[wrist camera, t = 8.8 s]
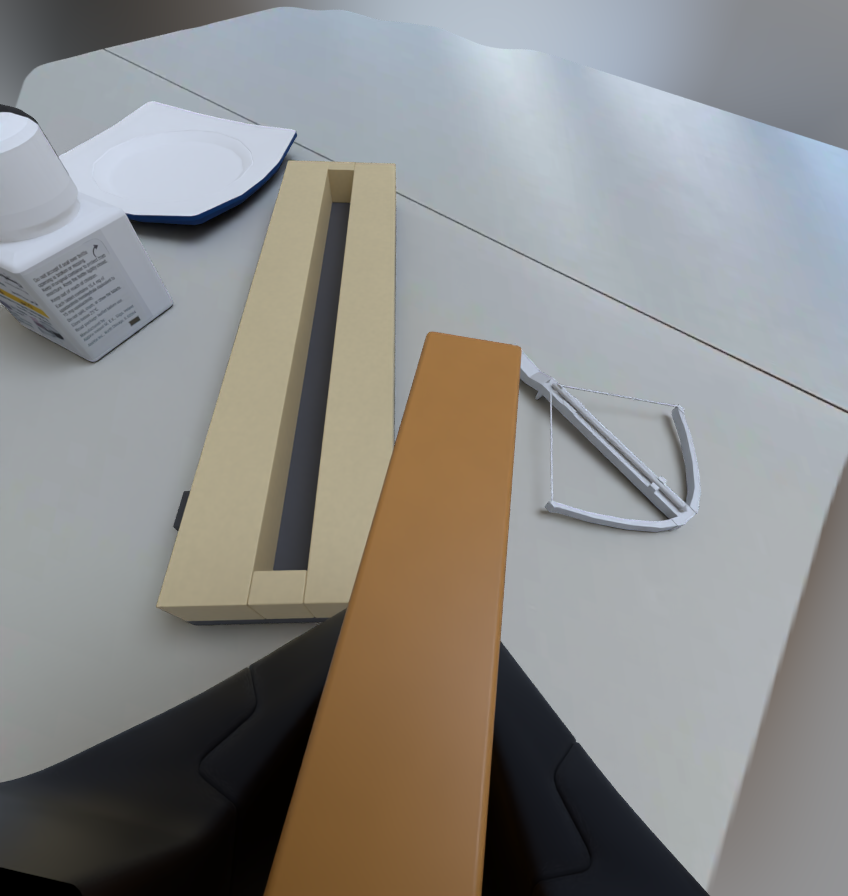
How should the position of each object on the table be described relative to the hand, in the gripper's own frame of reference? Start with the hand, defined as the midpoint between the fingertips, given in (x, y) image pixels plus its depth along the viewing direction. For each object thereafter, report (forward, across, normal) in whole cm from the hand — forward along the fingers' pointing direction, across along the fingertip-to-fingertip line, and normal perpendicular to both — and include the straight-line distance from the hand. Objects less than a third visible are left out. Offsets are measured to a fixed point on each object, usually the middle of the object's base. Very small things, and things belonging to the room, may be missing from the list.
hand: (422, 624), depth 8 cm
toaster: (+25, +11, -5) cm, 28 cm away
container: (+24, +29, -4) cm, 38 cm away
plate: (+39, +33, -19) cm, 55 cm away
